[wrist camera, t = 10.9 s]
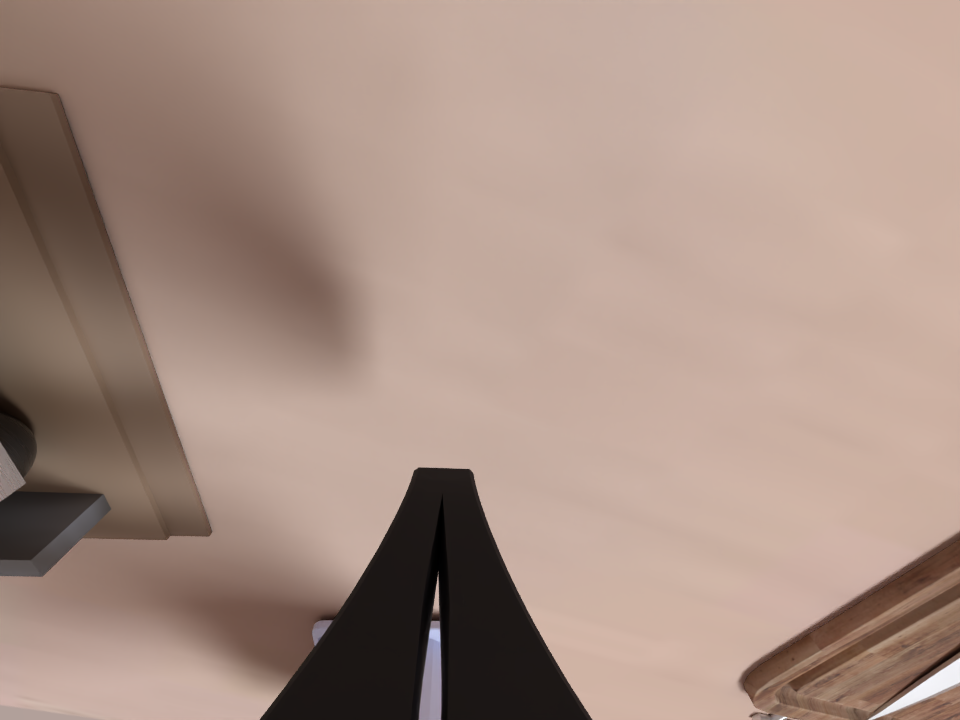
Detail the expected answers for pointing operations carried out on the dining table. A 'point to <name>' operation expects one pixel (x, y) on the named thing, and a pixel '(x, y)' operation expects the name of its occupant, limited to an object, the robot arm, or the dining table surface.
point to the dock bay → (75, 361)
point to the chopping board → (875, 656)
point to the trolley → (14, 453)
